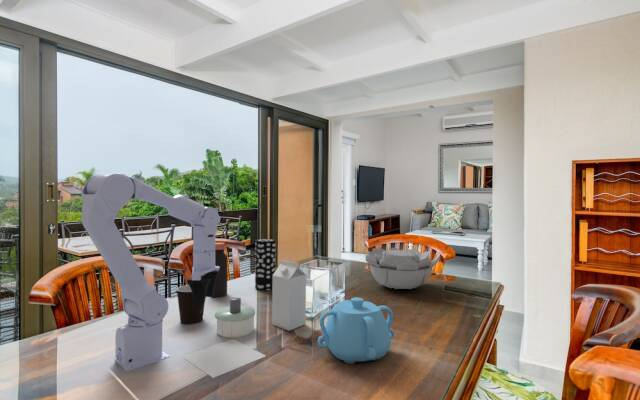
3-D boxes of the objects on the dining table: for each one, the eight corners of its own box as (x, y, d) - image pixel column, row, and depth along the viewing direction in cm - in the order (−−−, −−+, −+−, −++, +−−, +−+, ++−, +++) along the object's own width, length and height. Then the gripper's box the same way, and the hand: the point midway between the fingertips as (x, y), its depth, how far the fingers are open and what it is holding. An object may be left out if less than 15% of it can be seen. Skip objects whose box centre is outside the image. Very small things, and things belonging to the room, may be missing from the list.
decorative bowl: (351, 281, 159) (352, 248, 159) (409, 277, 168) (409, 246, 168) (383, 300, 130) (383, 260, 130) (451, 294, 139) (451, 256, 139)
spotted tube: (252, 286, 148) (253, 239, 148) (271, 284, 152) (272, 238, 152) (258, 291, 141) (258, 241, 141) (278, 289, 144) (278, 240, 144)
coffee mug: (196, 326, 103) (196, 292, 103) (170, 324, 105) (170, 290, 105) (216, 313, 115) (216, 283, 114) (192, 311, 116) (192, 281, 116)
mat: (213, 380, 74) (213, 377, 74) (182, 358, 83) (182, 356, 83) (266, 357, 84) (266, 355, 84) (233, 341, 93) (233, 339, 93)
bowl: (230, 342, 93) (230, 323, 92) (210, 332, 99) (210, 314, 99) (260, 332, 100) (260, 314, 100) (240, 323, 107) (240, 306, 107)
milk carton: (288, 319, 110) (289, 258, 110) (305, 324, 106) (306, 261, 105) (271, 325, 105) (272, 261, 104) (289, 331, 100) (289, 264, 100)
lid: (229, 324, 92) (229, 307, 92) (207, 314, 99) (207, 299, 99) (262, 314, 100) (262, 298, 100) (240, 306, 107) (240, 291, 107)
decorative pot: (370, 378, 75) (371, 314, 75) (310, 356, 85) (311, 300, 84) (400, 351, 88) (401, 297, 88) (346, 335, 98) (346, 286, 98)
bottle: (222, 298, 132) (222, 244, 132) (205, 297, 133) (205, 244, 133) (229, 293, 139) (230, 242, 138) (213, 292, 140) (214, 241, 139)
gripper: (212, 255, 88) (211, 309, 89) (225, 246, 103) (225, 293, 103) (183, 255, 88) (183, 309, 88) (201, 246, 103) (200, 293, 103)
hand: (204, 300), depth 96 cm, fingers open, 7 cm apart
